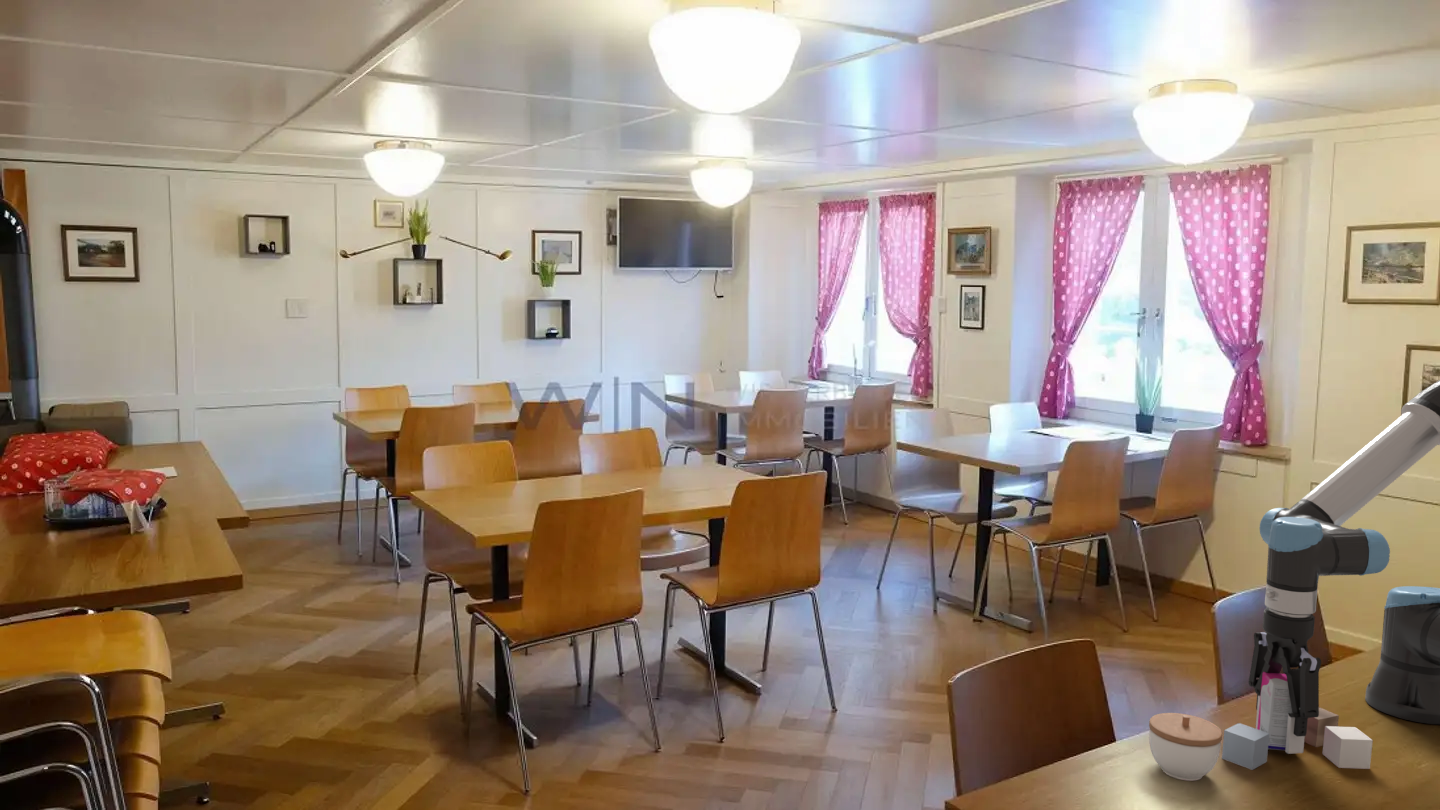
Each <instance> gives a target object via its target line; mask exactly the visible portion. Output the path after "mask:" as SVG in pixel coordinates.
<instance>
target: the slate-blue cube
mask: <svg viewBox="0 0 1440 810" xmlns="http://www.w3.org/2000/svg"><path fill="white" fill-rule="evenodd" d="M1223 731H1224V732H1223V738H1222V739H1223V741H1222V754H1221V759H1222V760H1225V761H1227V762H1231V763H1233V764H1235V765H1238V766H1241V767H1243V768H1247V769H1248V770H1251V771H1253V770H1255V769H1256V768H1258V767H1260V766H1262V765H1264V764H1266V763H1267V762H1268V754H1269V753H1268V752H1269V751H1268V750H1269V749H1268V742H1269V733H1267V732H1264V731H1261V730H1258V729H1256V727H1255V728H1254V727H1253V726H1249V725H1246V724H1243V723H1241V722H1237V723H1236V724H1233V725H1232V726H1230V727H1228V728H1226V729H1224V730H1223Z"/></svg>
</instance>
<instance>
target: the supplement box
mask: <svg viewBox="0 0 1440 810" xmlns="http://www.w3.org/2000/svg"><path fill="white" fill-rule="evenodd" d="M1299 709H1300V708H1299ZM1288 713H1292V708H1291V701H1290V695H1289V689H1288V682H1287V676H1286V674H1284V673H1281V672H1280V673H1266V672H1263V675H1262V685H1261V696H1260V706H1259V716H1258V727H1257V729H1258V730H1261V731H1264V732H1267V733H1269V742H1268V750H1277V751H1285V749H1286V737H1287V724H1288Z"/></svg>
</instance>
